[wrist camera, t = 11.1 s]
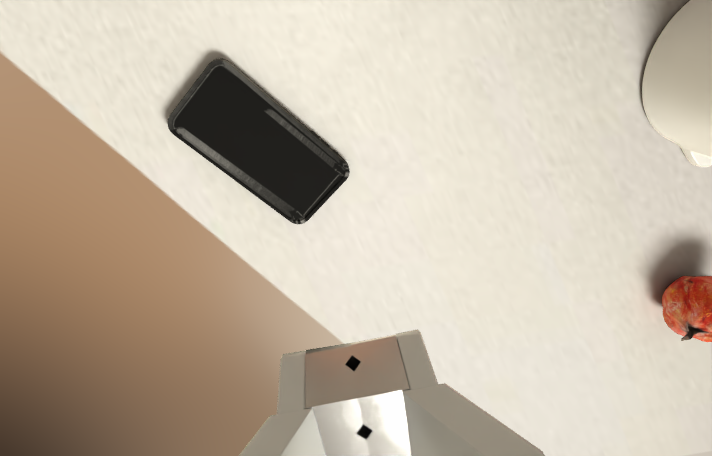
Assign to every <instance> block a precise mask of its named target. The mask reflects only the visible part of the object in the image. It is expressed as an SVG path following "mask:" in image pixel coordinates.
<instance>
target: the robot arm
mask: <svg viewBox="0 0 712 456" xmlns="http://www.w3.org/2000/svg"><path fill="white" fill-rule="evenodd" d="M642 99H643V105H644V110H645V113H646V116H647V118H648V120H649V122H650V123H651V125H652V126H653V128H654V129H655V130H656V131H657V132H658V133H659V134H660V135H662V136H663V137H664V138H666V139H668V140H670V141H672V142H674V143H675V144H677V145H678V146H679V147H681V149H682V151H683V153H684V155H685V156H686V158H687V160H688V161H689V162H690V163H691V164H693V165H695V166H699V167H709V166H712V0H690V1H689V2H688V3H686V4H685V5H684V6H683V7H682V8H681V9H680V10H679V11H678V12H677V13H676V14H675V16H674V17H673V18H672V19H671V20H670V21H669V23H668V24H667V25H666V27H665V28H664V30H663V31H662V33H661V34H660V36H659V37H658V39H657V41H656V43H655V45H654V47H653V49H652V51H651V53H650V56H649V58H648V61H647V64H646V68H645V72H644V77H643V85H642ZM239 456H545V455H544V454H543V452H542V451H541V450H540V449H538V448H537V447H535V446H534V445H533V444H531V443H530V442H528V441H527V440H525V439H524V438H523V437H521V436H520V435H518V434H517V433H515V432H514V431H513V430H511V429H510V428H508V427H507V426H505V425H504V424H503V423H501V422H500V421H498V420H497V419H495V418H494V417H493V416H491V415H490V414H488V413H487V412H485V411H484V410H483V409H481V408H480V407H478V406H477V405H475V404H474V403H473V402H471V401H470V400H468V399H467V398H465V397H464V396H463V395H461V394H460V393H458V392H457V391H455V390H454V389H453V388H451V387H450V386H448V385H447V384H445V383H444V384H439V385H438V382H437V379H436V377H435V374H434V371H433V368H432V365H431V362H430V359H429V356H428V353H427V350H426V347H425V344H424V342H423V339H422V336H421V333H420V331H419V330H413V331H408V332H403V333H398V334H396V335H390V336H385V337H380V338H375V339H369V340H364V341H359V342H354V343H348V344H341V345H335V346H329V347H323V348H317V349H310V350H306V351H300V352H294V353H288V354H283V355H282V358H281V363H280V376H279V391H278V405H277V415H272V416H269V418H268V419H267V420H266V422H265V423H264V424H263V425H262V427H261V428H260V429H259V431H258V432H257V433H256V434H255V436H254V437H253V438H252V439H251V441H250V442H249V443H248V445H247V446H246V447H245V449H244V450H243V451H242V452H241V454H240V455H239Z"/></svg>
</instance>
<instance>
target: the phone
mask: <svg viewBox="0 0 712 456" xmlns="http://www.w3.org/2000/svg"><path fill="white" fill-rule="evenodd" d="M168 128H169V130H170V131H171V132H172V133H173V134H174V135H175V136H176V137H177V138H179V139H180V140H181V141H183V142H184V143H185V144H187V145H188V146H190V147H191V148H192V149H194V150H195V151H196V152H198V153H199V154H200V155H202V156H203V157H204V158H206V159H207V160H208V161H210V162H211V163H212V164H214V165H215V166H216V167H218V168H219V169H220V170H222V171H223V172H224V173H226V174H227V175H228V176H230V177H231V178H233V179H234V180H235V181H237V182H238V183H239V184H241V185H242V186H243V187H245V188H246V189H247V190H249V191H250V192H251V193H253V194H254V195H255V196H257V197H258V198H259V199H261V200H262V201H263V202H265V203H266V204H267V205H269V206H270V207H271V208H273V209H274V210H276V211H277V212H278V213H280V214H281V215H282V216H284V217H285V218H286V219H288V220H289V221H290V222H292V223H294V224H303V223H305V222H306V221H308V220H309V219H310V218H311V217H312V215H313V214H314V213H315V212H316V211H317V210H318V209H319V208H320V207H321V206H322V205H323V204H324V203H325V202H326V201H327V200H328V199H329V197H330V196H331V195H332V194H333V193H334V192H335V191H336V190H337V189H338V188H339V187H340V186H341V185H342V184H343V183H344V182H345V181H346V179H347V178H348V176H349V166H348V164H347V162H346V161H345V160H344V159H343V158H342V157H341V156H339V154H338V153H337V152H336V151H334V150H332V149H331V148H330V146H329V145H328V144H326V143H325V142H324V141H323V140H322V139H319V136H317V135H316V134H315V133H314V132H313V131H310V130H309V129H308V128H307V127H305V126H304V125H303V124H302V123H301V122H300V121H298V120H297V119H296V118H295V117H294V116H293V115H291V114H290V113H289V112H288V111H287V110H286V109H284V108H283V107H282V106H281V105H280V104H279V103H277V102H276V101H275V100H274V99H273V98H272V97H270V96H269V95H268V94H267V93H266V92H265V91H263V90H262V89H261V88H260V87H259V86H258V85H256V84H255V83H254V82H253V81H252V80H251V79H249V78H248V77H247V76H246V75H245V74H243V73H242V72H241V71H240V70H239V69H238V68H236V67H235V66H234V65H233V64H232V63H231V62H229V61H227V60H225V59H216V60H214V61H212V62H211V63H210V64H209V65H208V66H207V67H206V69H205V70H204V71H203V73H202V74H201V75H200V77H199V78H198V79H197V81H196V82H195V83H194V85H193V86H192V87H191V88H190V90H189V91H188V92H187V94H186V95H185V96H184V98H183V99H182V100H181V102H180V103H179V104H178V106H177V107H176V108H175V110H174V111H173V112H172V113H171V115H170V116H169V118H168Z"/></svg>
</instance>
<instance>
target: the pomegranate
mask: <svg viewBox="0 0 712 456" xmlns="http://www.w3.org/2000/svg"><path fill="white" fill-rule="evenodd" d="M662 306H663V317H664V320H665V322H666V323H667V325H668V327H670V328H671V329H672V330H673V331H674V332H676V333H677V334H680V335H682V336H684V337H683V338H682V341H684V340H689V339H691V338H692V337H693V338H696V339H699V340H701V341H705V342H712V276H702V277H700V276H698V277H696V276H682V277H680V278H678V279H676V280H675V281H674V282H673V283H672V284H670V285H669V286H668V288H666V290H665V292H664V293H663V296H662Z"/></svg>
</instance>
